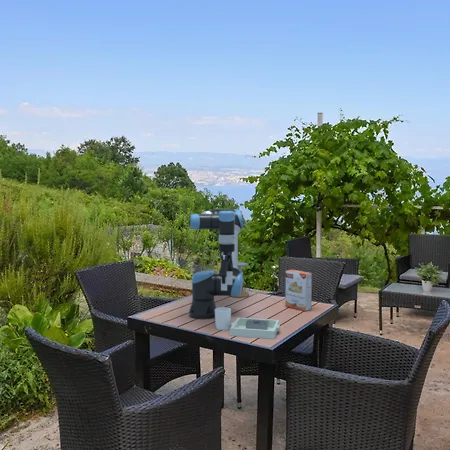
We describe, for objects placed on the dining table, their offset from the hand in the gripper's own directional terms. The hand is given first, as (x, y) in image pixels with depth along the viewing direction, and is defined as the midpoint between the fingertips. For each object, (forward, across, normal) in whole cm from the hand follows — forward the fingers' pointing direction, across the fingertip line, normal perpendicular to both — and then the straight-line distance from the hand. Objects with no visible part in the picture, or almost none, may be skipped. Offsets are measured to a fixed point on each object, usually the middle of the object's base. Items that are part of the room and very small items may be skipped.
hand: (226, 287), depth 225 cm
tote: (+20, -5, -14) cm, 25 cm away
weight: (+19, 0, -15) cm, 24 cm away
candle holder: (+19, +66, +5) cm, 69 cm away
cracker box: (+20, +43, -32) cm, 57 cm away
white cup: (+20, -2, +2) cm, 21 cm away
